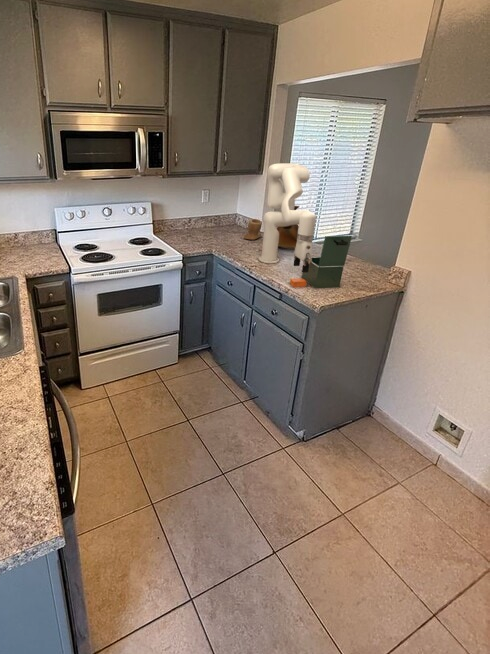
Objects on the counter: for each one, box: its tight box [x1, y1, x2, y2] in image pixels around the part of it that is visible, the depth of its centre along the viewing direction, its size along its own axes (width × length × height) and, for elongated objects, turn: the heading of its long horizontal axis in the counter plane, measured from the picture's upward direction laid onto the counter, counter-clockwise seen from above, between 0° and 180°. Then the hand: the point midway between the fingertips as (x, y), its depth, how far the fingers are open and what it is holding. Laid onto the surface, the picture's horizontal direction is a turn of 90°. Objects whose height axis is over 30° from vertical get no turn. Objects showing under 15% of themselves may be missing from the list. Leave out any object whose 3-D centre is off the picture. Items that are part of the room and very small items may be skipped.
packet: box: [289, 277, 308, 288], centre depth 190 cm, size 7×4×3 cm, turn 96°
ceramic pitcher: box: [276, 205, 300, 250], centre depth 249 cm, size 20×20×30 cm
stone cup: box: [243, 218, 263, 241], centre depth 272 cm, size 15×12×15 cm
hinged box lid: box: [319, 235, 353, 267], centre depth 178 cm, size 16×14×5 cm
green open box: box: [301, 256, 345, 289], centre depth 193 cm, size 16×14×12 cm
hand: (300, 269), depth 187 cm, fingers open, 9 cm apart
